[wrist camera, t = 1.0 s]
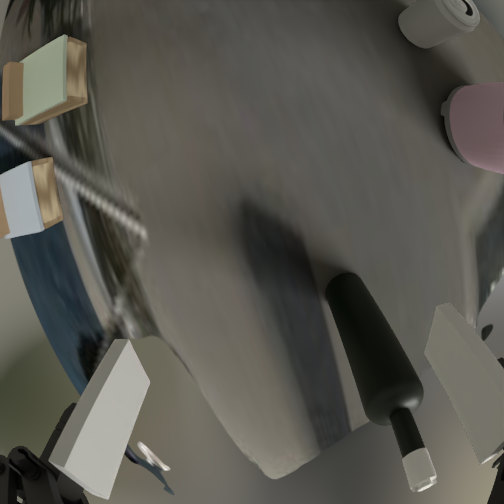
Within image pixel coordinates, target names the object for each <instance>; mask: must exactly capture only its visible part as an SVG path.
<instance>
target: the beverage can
mask: <svg viewBox="0 0 504 504" xmlns="http://www.w3.org/2000/svg"><path fill="white" fill-rule="evenodd" d="M479 21H480V16H479V13H478V10H477V8H476V6H475V4H474V3H473V1H472V0H417V1H416V2H414V3H413V4H412V5H410V6H409V7H408V8H406V9H405V10H404V11H403V12H401V14H400V15H399V18H398V23H399V27H400V29H401V31H402V33H403V34H404V36H405V37H406V38H407V39H408V40H409V41H410V42H411V43H413V44H414V45H416V46H418V47H421V48H431V47H434V46H436V45H438V44H441V43H443V42H445V41H448V40H450V39H453V38H455V37H458V36H460V35H463V34H466V33H468V32H471V31H473V30H474V29H475V27H476V26H477V25H478V24H479Z"/></svg>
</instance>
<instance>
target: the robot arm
mask: <svg viewBox="0 0 504 504" xmlns="http://www.w3.org/2000/svg"><path fill="white" fill-rule="evenodd" d="M424 354H425V356H426V358H427V359H428V361H429V363H430V364H431V366H432V368H433V370H434V371H435V373H436V375H437V377H438V378H439V380H440V382H441V384H442V386H443V388H444V389H445V391H446V393H447V395H448V397H449V399H450V401H451V403H452V405H453V407H454V409H455V411H456V412H457V415H458V417H459V419H460V421H461V423H462V425H463V427H464V429H465V431H466V433H467V436H468V438H469V440H470V442H471V444H472V447H473V449H474V451H475V454H476V456H477V458H478V461H479V463H480V465H481V464H483V463H484V462H486V461H488V460H490V459H491V458H493V457H494V456H496V455H497V454H498V453H499V452H500V451H501V450H502V449H503V450H504V359H503V358H500V359H496V358H495V356H494V355H493V354H492V352H491V351H490V350H489V348H488V347H487V346H486V345H485V343H484V342H483V341H482V340H481V338H480V337H479V336H478V335H477V333H476V332H475V331H474V330H473V328H472V327H471V326H470V325H469V324H468V323H467V321H466V320H465V319H464V318H463V317H462V315H461V314H460V313H459V312H458V311H457V310H456V309H455V307H454V306H453V305H452V304H451V303H446V304H442V305H437V306H436V310H435V315H434V319H433V323H432V327H431V330H430V334H429V338H428V341H427V345H426V348H425V351H424ZM149 384H150V381H149V379H148V377H147V375H146V373H145V371H144V369H143V368H142V365H141V363H140V361H139V359H138V357H137V355H136V353H135V351H134V349H133V347H132V345H131V343H130V340H129V339H115V340H114V341H113V343H112V345H111V346H110V348H109V350H108V351H107V353H106V354H105V356H104V358H103V359H102V361H101V363H100V365H99V366H98V368H97V370H96V371H95V373H94V375H93V376H92V378H91V380H90V382H89V383H88V385H87V387H86V389H85V390H84V392H83V394H82V396H81V398H80V400H79V401H78V403H72V404H71V405H70V406H69V407H68V408H67V409H66V410H65V411H64V413H63V415H62V416H61V418H60V420H59V421H60V422H58V424H57V426H56V427H55V428H56V429H55V430H54V431H53V433H52V435H51V437H50V439H49V441H48V443H47V445H46V447H45V449H44V451H43V453H42V455H41V457H40V458H37V457H36V456H35V455H34V454H33V453H32V452H31V451H30V450H28V449H27V448H26V447H24V446H17V447H15V448H13V449H12V450H11V452H10V453H9V455H8V457H7V458H6V457H5V456H3V455H0V504H89V503H88V500H87V498H86V496H85V495H84V493H83V490H84V489H86V490H87V491H88V492H90V493H91V494H93V495H96V496H99V497H102V498H105V499H109V496H110V493H111V490H112V487H113V484H114V481H115V478H116V475H117V472H118V469H119V466H120V463H121V460H122V457H123V454H124V452H125V449H126V446H127V443H128V440H129V437H130V435H131V432H132V429H133V426H134V424H135V421H136V418H137V416H138V413H139V410H140V408H141V405H142V402H143V400H144V397H145V395H146V392H147V390H148V387H149ZM498 463H500V464H499V466H498V467H497V469H498V472H497V476H496V479H495V482H494V485H493V489H492V491H491V495H490V497H489V500H488V503H487V504H504V453H503V454H502V455H501V456H500V457H499V458H498V459H497V460H496V461H495V462H494V464H493V466H492V468H494V467H495V466H496V465H497V464H498ZM17 496H19V497H20V498H22V499H23V502H22V503H19V502H18V501H17Z"/></svg>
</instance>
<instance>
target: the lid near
mask: <svg viewBox="0 0 504 504" xmlns="http://www.w3.org/2000/svg"><path fill="white" fill-rule="evenodd" d="M67 37H68V36H67V35H62V36H60V37H59V38H57V39H55V40H53V41H52V42H50V43H48V44H47V45H45V46H43V47H42V48H40V49H39V50H37V51H35V52H34V53H32V54H31V55H29V56H28V57H26V58H25V59H23V60H22V61H20V62H19V63H17V62H9V63H8V64H6V65H5V66H4V69H3V86H2V121H3V120H15V126H17V125H21V124H22V123H24V122H26V121H28V120H29V119H31V118H33V117H35V116H37V115H39V114H41V113H43V112H45V111H47V110H49V109H51V108H53V107H55V106H57V105H59V104H61V103H63V102H66V101H67V87H66V59H67Z"/></svg>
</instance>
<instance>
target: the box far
mask: <svg viewBox="0 0 504 504" xmlns="http://www.w3.org/2000/svg"><path fill="white" fill-rule="evenodd" d="M31 164H32V171H33V177H34V183H35V189H36V194H37V199H38V204H39V208H40V213H41V217H42V221H43V225H44V229H46V228H49V227H50V226H52V225H54V224H56V223H58V222H60V221H62V220H64V218H63V213H62V209H61V204H60V200H59V195H58V189H57V184H56V178H55V172H54V166H53V159H52V157H49V158H44V159H39V160H34V161H32V162H31Z"/></svg>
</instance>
